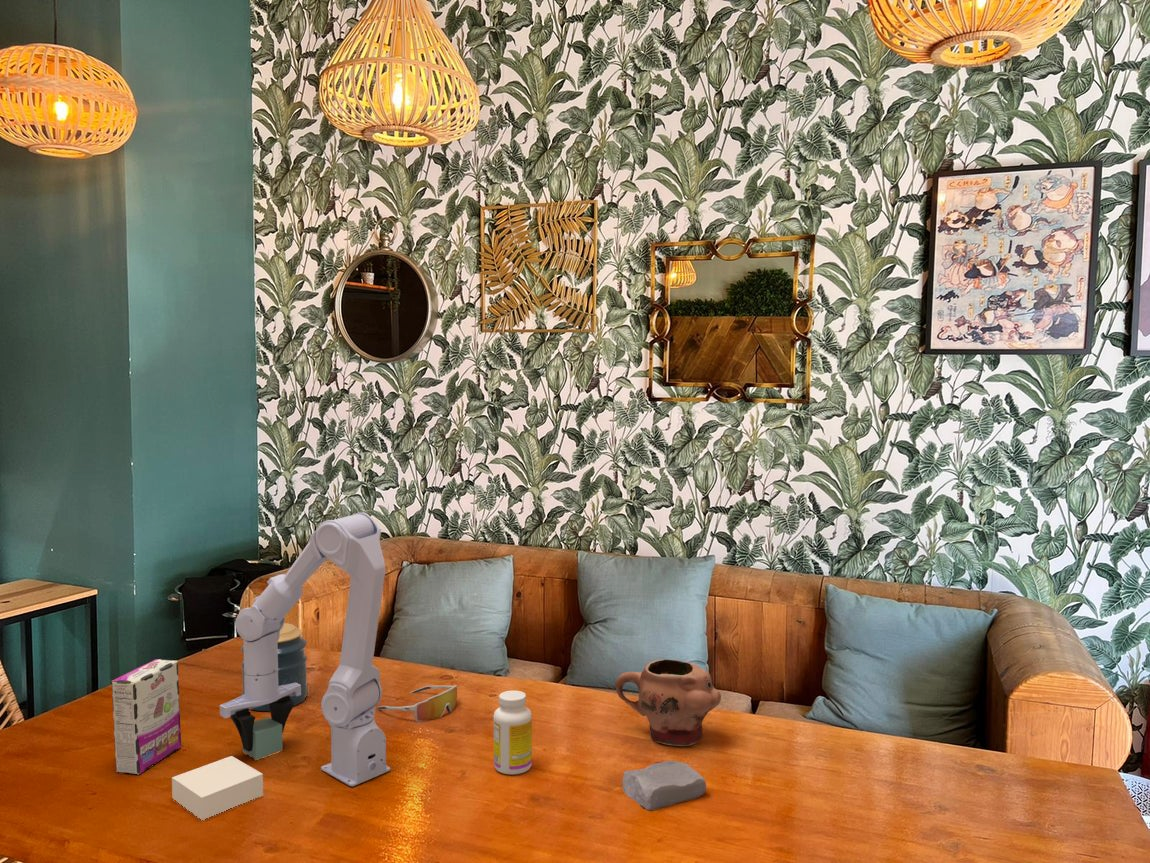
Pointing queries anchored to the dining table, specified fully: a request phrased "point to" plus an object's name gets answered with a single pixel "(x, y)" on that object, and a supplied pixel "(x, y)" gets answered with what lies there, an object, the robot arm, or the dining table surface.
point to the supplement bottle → (512, 734)
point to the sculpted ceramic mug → (672, 699)
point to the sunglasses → (431, 704)
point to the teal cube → (266, 738)
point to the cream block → (217, 787)
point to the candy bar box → (146, 715)
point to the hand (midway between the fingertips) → (262, 744)
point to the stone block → (663, 784)
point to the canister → (289, 662)
